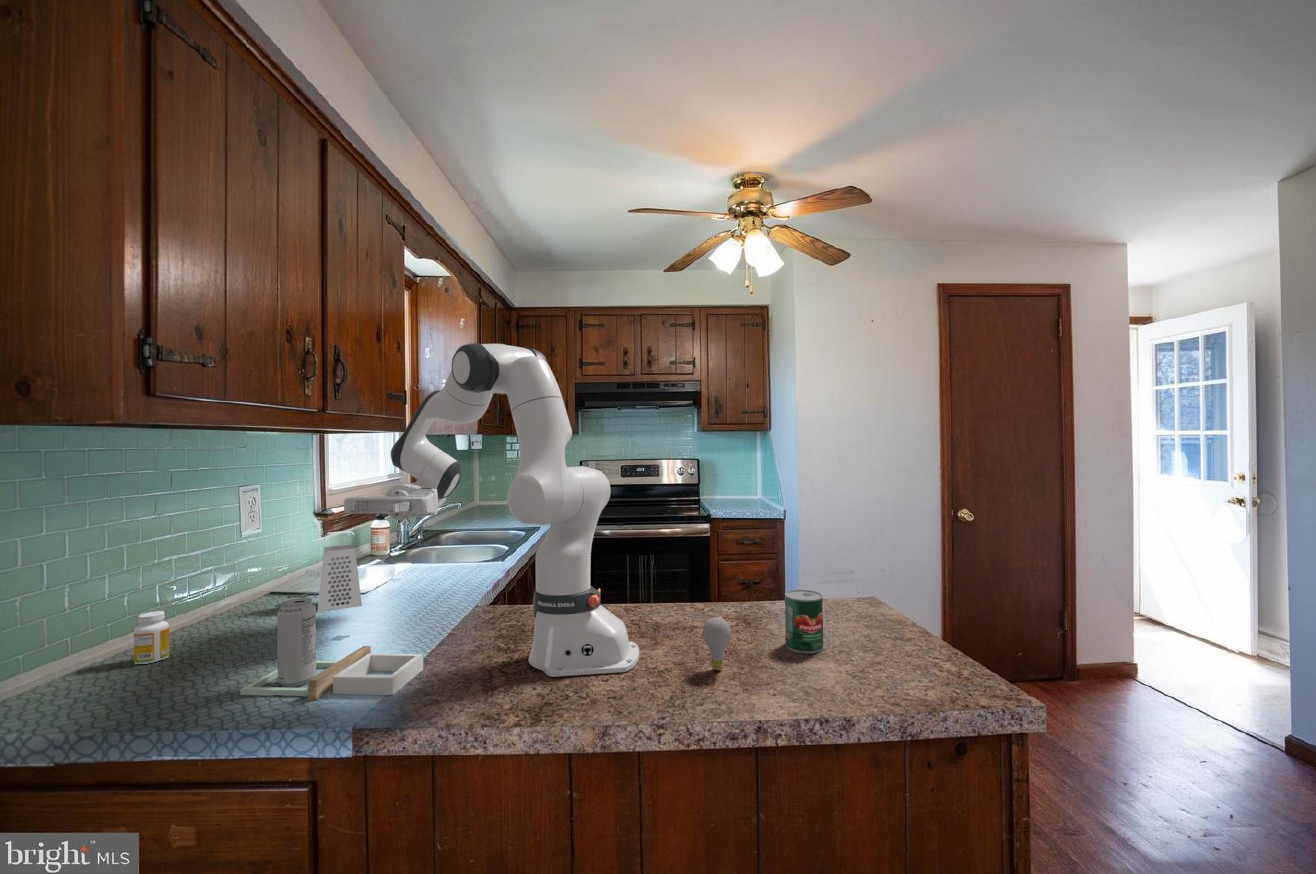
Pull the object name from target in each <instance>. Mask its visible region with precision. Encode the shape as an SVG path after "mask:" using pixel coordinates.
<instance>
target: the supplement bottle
mask: <svg viewBox="0 0 1316 874" xmlns="http://www.w3.org/2000/svg"><path fill="white" fill-rule="evenodd" d="M165 618H166V616H165V611H164V610H154V611H150V612H145V613H141V614H139V615H138V619H137V620H138V626H137V625H136V627H135V628H134V630H133V658H134V659H133V660H134V661H133V662H134V664H135V665H136V664H148V663H153V662H156V661H159V660H162V659H165V658H167V659H168V658H169V657H170V625H169V621H168V622H167V621H165ZM165 660H166V659H165ZM153 664H154V663H153ZM148 665H149V664H148Z"/></svg>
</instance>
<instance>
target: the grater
mask: <svg viewBox="0 0 1316 874" xmlns="http://www.w3.org/2000/svg"><path fill="white" fill-rule="evenodd" d="M348 533H349V534H352V535H353V537H354V542H353V544H344V545H333V546H323V556H322V564H321V565H322V566H321V572H320V573H321V575H320V576H321V577H320V584H319V593H318V603H317V611H316V612H317V613H322V612H324V613H325V612H330V611H338V610H345V609H352V608H358V607H362V606H363V604H362V603H363V602H362V594H361V587H360V579H359V571H358V561H357V555H356V547H355V546H356V544H355V543H356V542H355V541H356V540H355V539H356V538H355V536H356V535H355V533H354V532H353V531H352V530H343V531H341V530H340V531H333V532H332V531H331V532H330V531H329V532H327V533H326V534H324V537H323V539H325V537H327V536H328V535H335V534H338V535H339V534H348ZM347 602H348V603H347ZM337 603H339V604H338V605H337ZM342 603H343V604H342ZM332 604H334V605H333V606H332Z"/></svg>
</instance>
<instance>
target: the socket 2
mask: <svg viewBox="0 0 1316 874" xmlns="http://www.w3.org/2000/svg"><path fill="white" fill-rule="evenodd" d="M422 671H424V653H381V652H380V653H375V652H374V653H373V652H371V653H369V654H367V655H366V656H364V657H363V658H361V659H360V660H358V661H357V662H355V663H354V664H352V665H351V666H349V667H347V668H346V669H344V670H343V671H341V672H340V673H338V674H337V675H335V676H334V677H333V690H332V694H333V695H363V696H364V695H365V696H366V695H373V696H374V695H376V696H378V695H379V696H394V694H396V693H398V691H400V690H401V689H402V688H403V687H404V686H405V685H406V684H408V683H409V682H410V681H411V680H412V679H414V678H415V677H416V676H418V675H419V673H421V672H422ZM371 672H393V673H391V674H390V675H386V674H385V675H381V674H378V675H377V674H375V675H374V674H373V675H372V674H369V673H371ZM367 674H368V675H367Z"/></svg>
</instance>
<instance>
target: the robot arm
mask: <svg viewBox="0 0 1316 874" xmlns="http://www.w3.org/2000/svg"><path fill="white" fill-rule="evenodd" d="M494 394H500V395H506V396H507V399H508V405H509V408H510V412H511V416H512V419H513V424H514V427H515V431H516V435H517V441H518V445H519V465H518V470H517V473H516V475H515V477H514V479H513V480H512V481H511V483H510V485H509V487H508V490H507V498H506V500H507V505H508V509H509V512H510V513H511V515H512V516H513V517H514V519H515V520H517V521H518V522H520V523H522V524H526V525H527V524H528V525H535V526H537V525H538V526H545V525H546V526H547V525H549V528H548V530H547V531H548V532H547V534H546V536H545V538H544V540H543V541H542V542H541V544H540V545H539V546H538V547H537V549H536V553H535V589H534V591H533V599H532V603H533V604H532V607H533V608H532V609H533V617H534V629H533V630H534V631H533V637H532V638H533V639H532V644H531V649H530V652H529V653H530V654H529V656H528V659H527V660H528V663H529V665H530V666H531V667H533V668H535V669H537V670H539V671H543V673H544V674H545V675H546V676H548V677H550V678H551V677H553V678H554V677H567V676H568V677H569V676H584V675H599V674H600V675H601V674H616V673H626V672H628V671H631V670H632V669H633V668H634V667H635V666H636V665H637V664H638V662H639V660H640V647H639V645H638V644H637V643H635V642H634V641H630V640H629V639H630V638H629V635H628V629H627V626H626V625H625V623H624V621H623V620H622V619H621V618H619V617H618V616H616V615H615V614H613V613H612V612H610V610H608V609H607V608H605V607H604V606H602V605H601V598H602V597H601V588H598V589H596V588H594V586H592V585H591V561H592V560H591V559H592V558H591V556H592V554H591V553H592V547H593V545H592V544H593V541H594V535H595V531H596V528H597V525H598V522H599V518H600V516H601V514H602V512H603V510H604V509H605V507H606V506H607V504H608V503H609V500H610V498H611V490H612V489H611V484H610V481H609V479H608V478H607V476H606V475H605V474H604V473H603V472H602V471H600V470H599V469H595V468H593V467H588V466H585V465H584V466H583V465H578V466H567V464H566V463H567V462H566V446H567V445H568V443H569V442H570V441H571V440H572V437H573V436H572V435H573V429H572V426H571V423H570V419H569V416H568V412H567V409H566V406H565V402H564V399H563V396H562V392H561V390H560V387H559V384H558V382H557V380H556V377H555V375H554V373H553V370H552V369H551V367H550V365H549V363H548V360H547V358H546V356H545V355H544V354H543V353H542V352H541V351H540V350H537V349H535V348H532V347H531V348H530V347H520V346H515V345H508V344H504V343H479V342H473V343H467V344H464V345H460V346H459V347H458V348H457V349H456V351H455V352H454V354H453V356H452V361H451V370H450V371H449V374H448V376H447V378H446V381H445V384H444V386H443V387H442V389H441V390H438V389H437V390H434V391H432V392H431V393H429V394H428V395H427V396H426V397H425V398H424V399H423V400H422V402H421V403H420V404H419V406H418V408H417V410H416V411H415V412H414V415H413V416H412V417H411V419H410V421H409V423H408V424H407V426H406V428H405V429H404V431H403V433H402V434H401V435H400V437H399V438H398V439H397V441H395V443H394V444H393V446H392V448H391V450H390V458H391V463H392V466H394V467H396V468H398V469H399V470H400V471H403V472H405V473H407V474H408V475H410V476H411V477H413V478H414V479H416V481H415V482H408V483H402V484H401V483H400V484H397V485H396V484H395V485H393V486H391V487H390V488H389V489H387V491H386V492H385V495H359V496H352V497H351V496H350V497H346V498H345V499H344V501H343V512H344V513H345V514H353V515H354V514H357V515H358V514H360V515H361V514H362V515H363V514H373V515H374V514H387V515H388V516H389V517H390V518H392V519H394V520H396V521H407V520H409V519H415V518H418V517H425V516H426V517H427V516H428V517H429V516H435V515H437V514H438V511H439V509H440V508H441V507H442V506H443V505H444V503H445V502H446V501H447V498H448V497H449V496H451V495H452V494H453V492H454V491H455V490H456V489H457V487H458V485H459V483H460V481H461V479H462V467H461V463H460V461H458V460H456V459H455V458H454V457H452V456H451V455H450V454H448V453H447V452H444V451H443V450H441V449H440V448H439V447H437V446H436V445H434V444H433V443H432V442H430V441H429V439H428V438H427V436H426V435H427V434H428V432H429V430H430V429H431V427H432V425H433V424H434V423H435V420H438V421H443V422H447V423H450V424H453V425H466V424H472V423H475V422H477V421H479V420H480V419H481V418H482V417H483V416H484V415H485V413H486V412H487V410H488V408H489V405H490V403H491V401H492V397H493V395H494Z"/></svg>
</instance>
